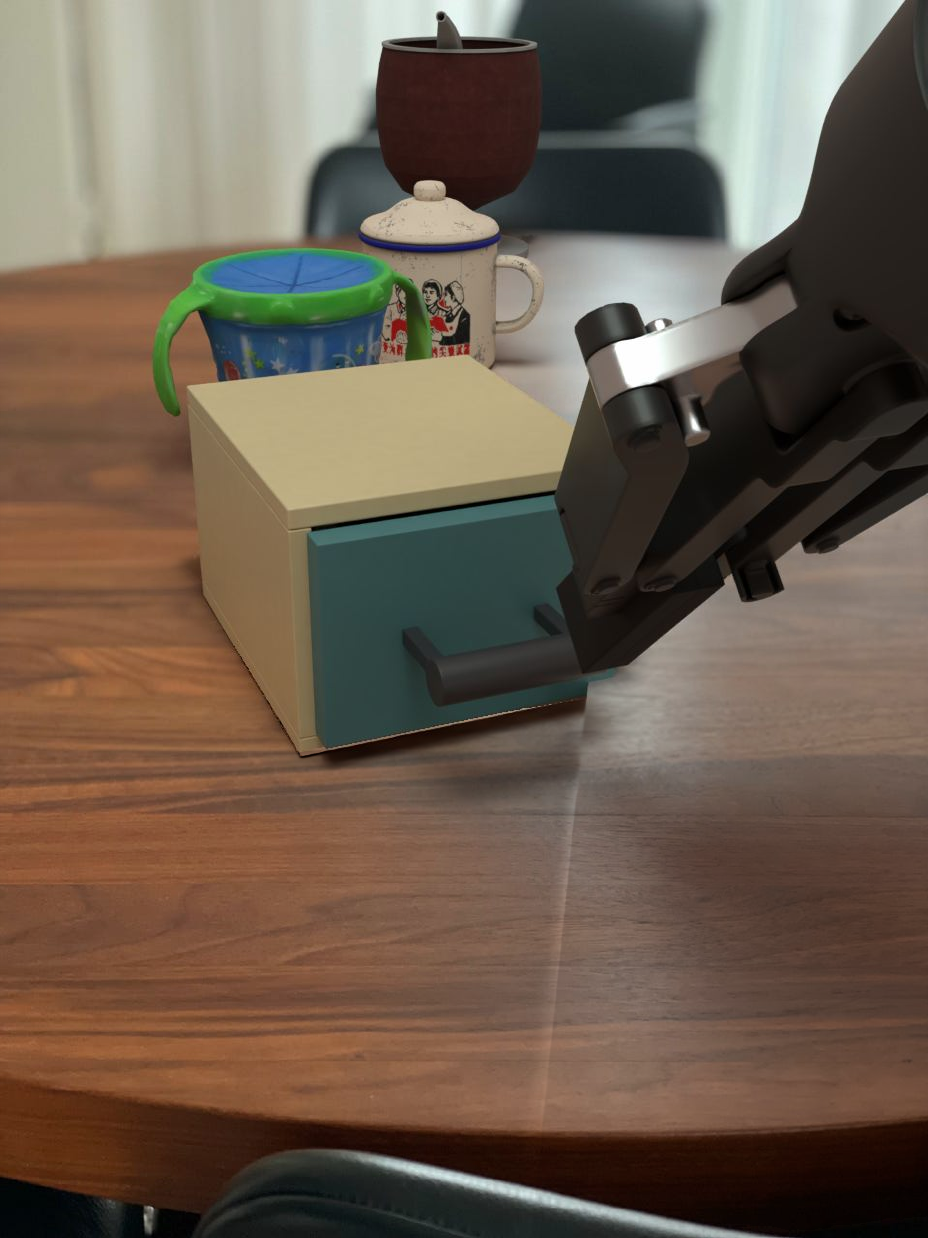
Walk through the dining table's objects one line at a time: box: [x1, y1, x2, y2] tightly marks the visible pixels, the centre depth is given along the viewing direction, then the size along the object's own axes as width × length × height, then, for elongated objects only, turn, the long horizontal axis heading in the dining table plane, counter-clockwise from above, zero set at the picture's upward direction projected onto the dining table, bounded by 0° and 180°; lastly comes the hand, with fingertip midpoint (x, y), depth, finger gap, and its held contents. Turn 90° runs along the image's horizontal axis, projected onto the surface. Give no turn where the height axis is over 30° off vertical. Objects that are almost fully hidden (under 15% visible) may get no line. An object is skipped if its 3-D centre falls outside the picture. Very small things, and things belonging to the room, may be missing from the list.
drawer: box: [307, 490, 616, 749], centre depth 55 cm, size 18×11×8 cm, turn 23°
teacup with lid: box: [358, 180, 545, 369], centre depth 93 cm, size 12×9×12 cm
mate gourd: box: [375, 10, 543, 259], centre depth 121 cm, size 16×14×20 cm
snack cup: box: [152, 247, 432, 418], centre depth 78 cm, size 16×10×10 cm
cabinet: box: [186, 355, 588, 752], centre depth 58 cm, size 15×13×10 cm
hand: (591, 626), depth 42 cm, fingers closed
